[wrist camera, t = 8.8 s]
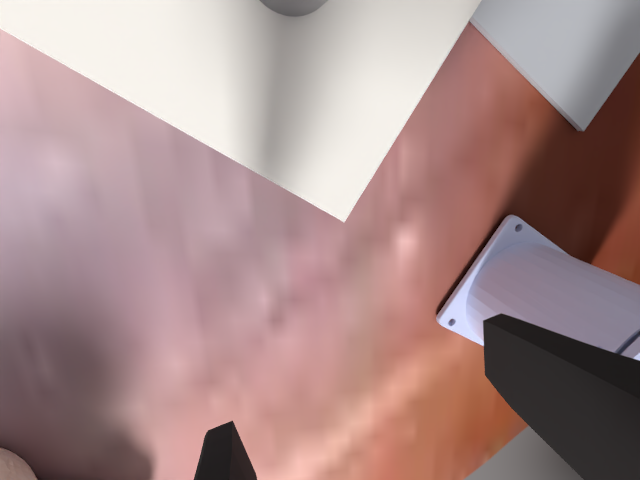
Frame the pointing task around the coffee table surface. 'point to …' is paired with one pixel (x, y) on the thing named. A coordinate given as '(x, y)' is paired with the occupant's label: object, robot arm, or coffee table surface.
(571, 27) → the mat
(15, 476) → the light blue rounded figure
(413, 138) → the coffee table surface
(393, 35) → the lid
